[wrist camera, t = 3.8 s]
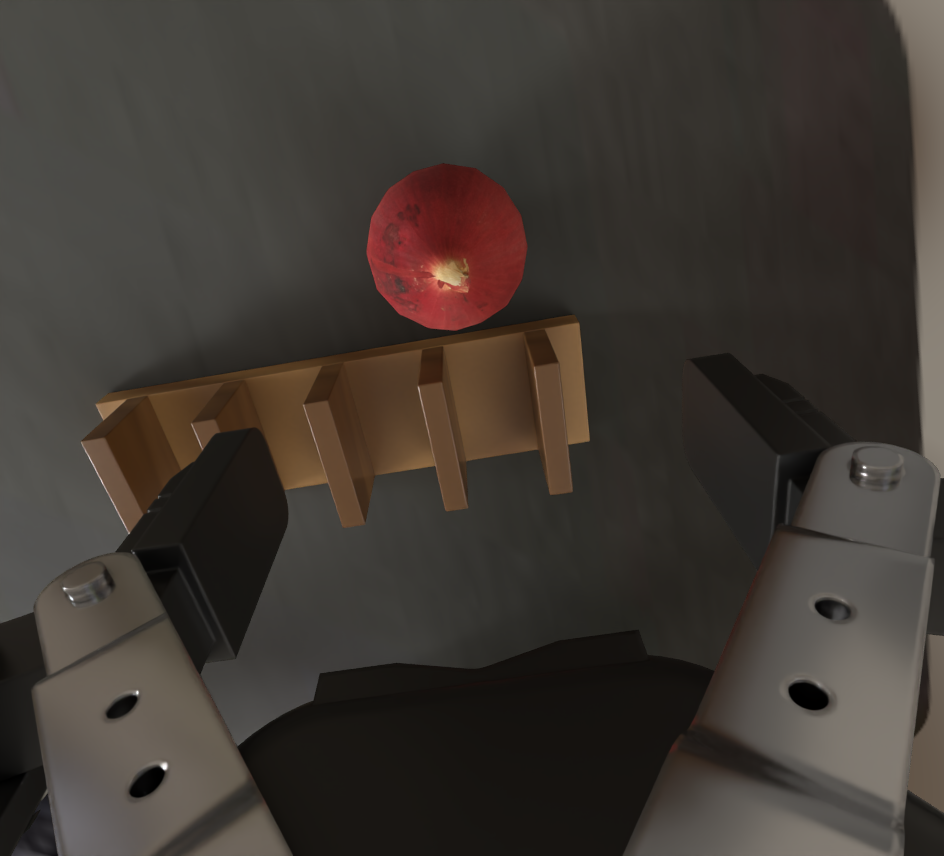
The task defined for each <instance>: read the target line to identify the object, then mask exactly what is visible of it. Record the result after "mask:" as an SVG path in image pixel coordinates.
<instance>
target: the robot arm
mask: <svg viewBox="0 0 944 856" xmlns="http://www.w3.org/2000/svg"><path fill="white" fill-rule="evenodd" d="M682 387H683V444H684V450H685V454H686V458H687V461H688V463H689V466H690V467H691V469H692V471H693V472H694V474H695V475H696V477H697V478H698V480H699V482H700V483H701V485H702V486H703V488H704V489H705V491H706V492H707V494H708V495H709V497H710V498H711V500H712V502H713V503H714V505H715V506H716V508H717V509H718V511H719V512H720V514H721V515H722V517H723V519H724V520H725V522H726V523H727V525H728V526H729V528H730V529H731V531H732V532H733V534H734V535H735V537H736V539H737V540H738V542H739V543H740V545H741V546H742V548H743V549H744V551H745V552H746V554H747V556H748V557H749V559H750V560H751V562H752V563H753V565H754V566H755V568H756V569H757V573H756V576H755V578H754V580H753V583H752V585H751V587H750V590H749V592H748V594H747V597H746V599H745V601H744V604H743V606H742V608H741V611H740V613H739V615H738V618H737V620H736V622H735V625H734V627H733V629H732V632H731V634H730V636H729V639H728V641H727V643H726V646H725V648H724V650H723V653H722V655H721V657H720V660H719V662H718V664H717V667H716V669H715V671H713V670H711V669H708V668H705V667H703V666H700V665H697V664H693V663H690V662H686V661H683V660H679V659H673V658H668V657H662V656H653V655H647V652H646V649H645V646H644V644H643V641H642V638H641V635H640V632H639V630H633V631H626V632H618V633H611V634H604V635H597V636H589V637H582V638H575V639H567V640H560V641H557V642H554V643H551V644H548V645H545V646H543V647H540V648H537V649H534V650H531V651H529V652H526V653H523V654H520V655H518V656H515V657H512V658H509V659H506V660H504V661H501V662H498V663H495V664H492V665H490V666H487V667H483V668H479V669H464V668H452V667H439V666H427V665H415V664H403V663H393V664H385V665H378V666H371V667H364V668H356V669H349V670H342V671H334V672H327V673H320V675H319V679H318V684H317V688H316V692H315V697H314V701H311V702H309V703H306V704H304V705H301V706H299V707H297V708H295V709H293V710H291V711H289V712H287V713H285V714H283V715H281V716H280V717H278V718H276V719H275V720H273V721H271V722H269V723H268V724H266V725H265V726H264V727H262V728H261V729H259V730H258V731H256V732H255V733H254V734H252V735H251V736H250V737H248V738H247V739H246V740H245V741H244V742H242V743H241V744H240V745H239V746H238V747H237V745H236V743H235V741H234V739H233V737H232V735H231V733H230V731H229V729H228V727H227V725H226V724H225V722H224V720H223V718H222V716H221V714H220V712H219V710H218V708H217V706H216V704H215V703H214V701H213V699H212V697H211V695H210V693H209V691H208V689H207V687H206V685H205V683H204V682H203V680H202V678H201V676H200V673H201V671H202V669H203V666H204V664H205V663H210V662H217V661H224V660H231V659H236V656H237V654H238V651H239V649H240V646H241V644H242V641H243V638H244V636H245V633H246V631H247V628H248V626H249V623H250V621H251V618H252V615H253V613H254V610H255V608H256V605H257V603H258V600H259V597H260V595H261V592H262V590H263V587H264V585H265V582H266V579H267V577H268V574H269V572H270V569H271V567H272V564H273V561H274V559H275V556H276V554H277V551H278V549H279V546H280V543H281V541H282V538H283V536H284V533H285V531H286V528H287V524H288V504H287V499H286V496H285V492H284V490H283V487H282V484H281V481H280V479H279V476H278V473H277V470H276V468H275V465H274V462H273V459H272V457H271V454H270V451H269V448H268V446H267V443H266V440H265V438H264V436H263V434H262V432H261V431H260V430H259V429H258V428H256V427H252V428H246V429H240V430H233V431H227V432H221V433H216V434H214V435H213V437H212V438H211V439H210V441H209V442H208V444H207V445H206V446H205V448H204V449H203V451H202V452H201V453H200V455H199V456H198V458H197V459H196V460H195V462H192V463H190V464H189V465H188V466H186V467H185V468H184V469H182V470H181V471H180V472H178V473H177V474H176V475H174V476H173V477H172V478H171V479H170V480H169V481H168V482H167V484H166V485H165V486H164V488H163V489H162V490H161V492H160V493H159V494H158V499H155V500H154V501H153V502H152V504H151V505H150V506H149V508H148V509H147V513H146V514H144V515H143V516H142V517H141V519H140V520H139V521H138V523H137V524H136V525H135V527H134V528H133V529H132V531H131V532H130V533H129V535H128V536H127V537H126V539H125V540H124V541H123V543H122V544H121V545H120V547H119V548H118V549H117V551H116V552H115V553H109V554H104V555H101V556H97V557H94V558H92V559H89V560H87V561H84V562H82V563H80V564H78V565H76V566H74V567H72V568H70V569H69V570H67V571H65V572H64V573H62V574H61V575H60V576H58V577H57V578H55V579H54V580H53V581H52V582H51V583H49V584H48V585H47V586H46V587H45V588H44V589H43V591H42V592H41V593H40V594H39V596H38V597H37V599H36V601H35V604H34V612H33V613H30V614H27V615H24V616H21V617H18V618H15V619H12V620H10V621H7V622H4V623H1V624H0V856H11V855H12V853H13V851H14V849H15V847H16V846H17V844H18V842H19V840H20V838H21V836H22V834H23V833H24V832H26V831H27V830H28V829H30V827H31V825H32V824H33V822H34V820H35V818H36V817H37V815H38V813H39V811H40V810H41V809H40V810H39V811H38V812H36V813H35V814H34V812H35V810H36V808H37V806H38V805H39V803H40V801H41V800H42V799H43V798H44V797H45V796H46V794H47V793H48V796H49V802H50V808H51V814H52V820H53V826H54V832H55V838H56V844H57V850H58V856H944V813H943V812H941V811H940V810H938V809H937V808H935V807H934V806H932V805H931V804H929V803H927V802H926V801H924V800H923V799H921V798H920V797H918V796H917V795H915V794H913V793H912V792H910V791H909V790H907V787H908V779H909V771H910V762H911V754H912V746H913V738H914V729H915V721H916V713H917V705H918V696H919V688H920V680H921V671H922V663H923V655H924V647H925V638H926V634H932V635H942V636H944V478H940V473H939V470H938V469H937V467H936V466H935V465H934V464H933V463H932V462H931V461H929V460H928V459H927V458H925V457H923V456H922V455H920V454H918V453H916V452H913V451H911V450H908V449H905V448H902V447H898V446H895V445H890V444H885V443H877V442H857V441H856V440H854V439H853V438H852V437H851V436H850V435H848V434H847V433H846V432H845V431H844V430H843V429H841V428H840V427H839V426H838V425H837V424H835V423H834V422H833V421H832V420H831V419H829V418H828V417H827V416H826V415H825V414H824V413H822V412H818V408H816V407H815V406H814V405H813V404H812V403H810V402H809V401H808V400H805V399H804V397H803V396H802V395H801V394H800V393H799V392H797V391H796V390H795V389H794V388H793V387H791V386H790V385H789V384H788V383H785V382H782V381H780V380H777V379H775V378H772V377H769V376H767V375H764V374H759V375H753V374H752V373H751V372H750V371H749V370H748V369H747V368H746V367H745V366H743V365H742V364H741V363H740V362H739V361H738V360H737V359H736V358H735V357H734V356H733V355H731V354H730V353H724V354H718V355H712V356H706V357H699V358H693V359H687V360H686V361H685V363H684V366H683V375H682ZM33 814H34V815H33Z"/></svg>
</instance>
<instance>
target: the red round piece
mask: <svg viewBox="0 0 944 856" xmlns="http://www.w3.org/2000/svg"><path fill="white" fill-rule="evenodd" d="M526 252H527V242H526V237H525V232H524V227H523V222H522V217H521V215H520V213H519V211H518V210H517V208H516V207H515V205H514V203H513V202H512V200H511V199H510V197H509V196H508V194H507V192H506V191H505V189H504V188H503V187H502V186H500V185H499V184H497V183H496V182H494V181H493V180H492V179H490V178H489V177H487V176H486V175H484V174H483V173H482V172H480V171H479V170H477V169H476V168H470V167H463V166H457V165H450V164H444V163H443V164H439V165H435V166H432V167H428V168H424V169H421V170H417V171H413V172H412V173H411V174H409V175H408V176H406V177H405V178H403V179H402V180H400V181H399V182H398V183H396V184H395V185H393V186H392V187H390V188H389V189H388V190H387V192H386V194H385V195H384V197H383V199H382V200H381V202H380V204H379V205H378V207H377V209H376V210H375V212H374V214H373V216H372V217H371V224H370V231H369V238H368V245H367V257H368V260H369V264H370V267H371V270H372V274H373V277H374V280H375V284H376V287H377V290H378V291H379V292H380V293H381V294H382V296H383V297H384V298H385V299H386V300H387V301H388V302H389V303H390V304H391V305H392V306H393V308H394V309H395V310H396V311H397V312H398V313H399V314H400V315H403V316H405V317H407V318H409V319H411V320H413V321H415V322H417V323H419V324H421V325H423V326H425V327H427V328H432V329H444V330H455V331H456V330H459V329H463V328H466V327H469V326H472V325H475V324H479V323H482V322H483V321H484V320H486V319H487V318H489V317H490V316H492V315H493V314H495V313H496V312H498V311H500V310H501V309H503V308H504V307H506V306H507V305H508V303H509V301H510V299H511V298H512V296H513V294H514V293H515V291H516V289H517V287H518V286H519V284H520V282H521V281H522V277H523V271H524V264H525V258H526Z"/></svg>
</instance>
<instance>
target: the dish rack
mask: <svg viewBox="0 0 944 856" xmlns="http://www.w3.org/2000/svg"><path fill="white" fill-rule="evenodd" d="M96 406H97V408H98V410H99V412H100V414H101V416H102V418H103V420H104V421H102V422H101V423H100V424H99V425H98V426H97V427H96V428H95V429H94V430H93V431H92V432H90V433H89V434H88V435H87V436H86V437H85V438H84V439H83V440H82V441H81V443H82V445H83V447H84V449H85V451H86V453H87V455H88V457H89V458H90V460H91V462H92V464H93V466H94V468H95V470H96V472H97V474H98V476H99V477H100V479H101V481H102V483H103V485H104V487H105V489H106V491H107V493H108V495H109V496H110V498H111V500H112V502H113V504H114V506H115V508H116V510H117V512H118V514H119V516H120V517H121V519H122V521H123V523H124V525H125V527H126V529H127V531H128V533H130V532H131V531H132V529H133V528H134V527H135V525H136V524H137V523H138V521H139V520H140V519H141V517H142V516H143V515H144V514H146V513H147V509H148V508H149V506H150V505H151V504H152V502H153V501H154V500H155V499H158V494H159V493H160V492H161V490H162V489H163V488H164V486H165V485H166V484H167V482H168V481H169V480H170V479H171V478H172V477H173V476H174V475H176V474H177V473H178V472H180V471H181V470H182V469H184V468H185V467H186V466H188V465H189V464H190V463H192V462H195V460H196V459H197V458H198V456H199V455H200V453H201V452H202V451H203V449H204V448H205V446H206V445H207V444H208V442H209V441H210V439H211V438H212V437H213V435H214V434H216V433H221V432H227V431H233V430H240V429H246V428H252V427H256V428H258V429H259V430H260V431H261V432H262V434H263V436H264V438H265V440H266V443H267V446H268V448H269V451H270V454H271V457H272V459H273V462H274V465H275V468H276V470H277V473H278V476H279V479H280V481H281V484H282V487H283V490H284V491H285V490H286V489H292V488H298V487H305V486H311V485H317V484H324V483H329V487H330V490H331V493H332V496H333V499H334V502H335V505H336V508H337V511H338V514H339V517H340V520H341V523H342V527H343V528H346V527H352V526H359V525H365V522H366V517H367V512H368V507H369V503H370V498H371V493H372V488H373V483H374V478H375V475H380V474H387V473H393V472H399V471H405V470H412V469H418V468H424V467H431V466H435V467H436V471H437V476H438V480H439V484H440V489H441V493H442V498H443V502H444V507H445V510H446V511H453V510H460V509H466V508H468V489H467V467H466V461H468V460H475V459H481V458H487V457H493V456H500V455H506V454H512V453H519V452H525V451H531V450H537V449H538V450H539V454H540V458H541V462H542V466H543V470H544V473H545V477H546V481H547V485H548V489H549V493H550V495H556V494H563V493H569V492H573V485H572V475H571V466H570V457H569V448H568V445H569V444H575V443H581V442H588V441H590V437H589V426H588V415H587V403H586V392H585V381H584V370H583V358H582V347H581V336H580V324H579V322H578V320H577V318H576V317H575V315H569V316H563V317H557V318H551V319H545V320H539V321H533V322H527V323H521V324H515V325H510V326H504V327H498V328H492V329H486V330H480V331H474V332H468V333H462V334H456V335H450V336H444V337H439V338H433V339H427V340H421V341H415V342H409V343H403V344H397V345H391V346H385V347H379V348H374V349H368V350H362V351H356V352H350V353H344V354H338V355H332V356H326V357H320V358H314V359H309V360H303V361H297V362H291V363H285V364H279V365H273V366H267V367H261V368H255V369H249V370H244V371H238V372H232V373H226V374H220V375H214V376H208V377H202V378H196V379H190V380H184V381H179V382H173V383H167V384H161V385H155V386H149V387H143V388H137V389H131V390H125V391H119V392H114V393H108V394H107V395H106V396H105V397H103V398H102V399H101V400H100V401H99V402H97V403H96Z"/></svg>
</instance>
